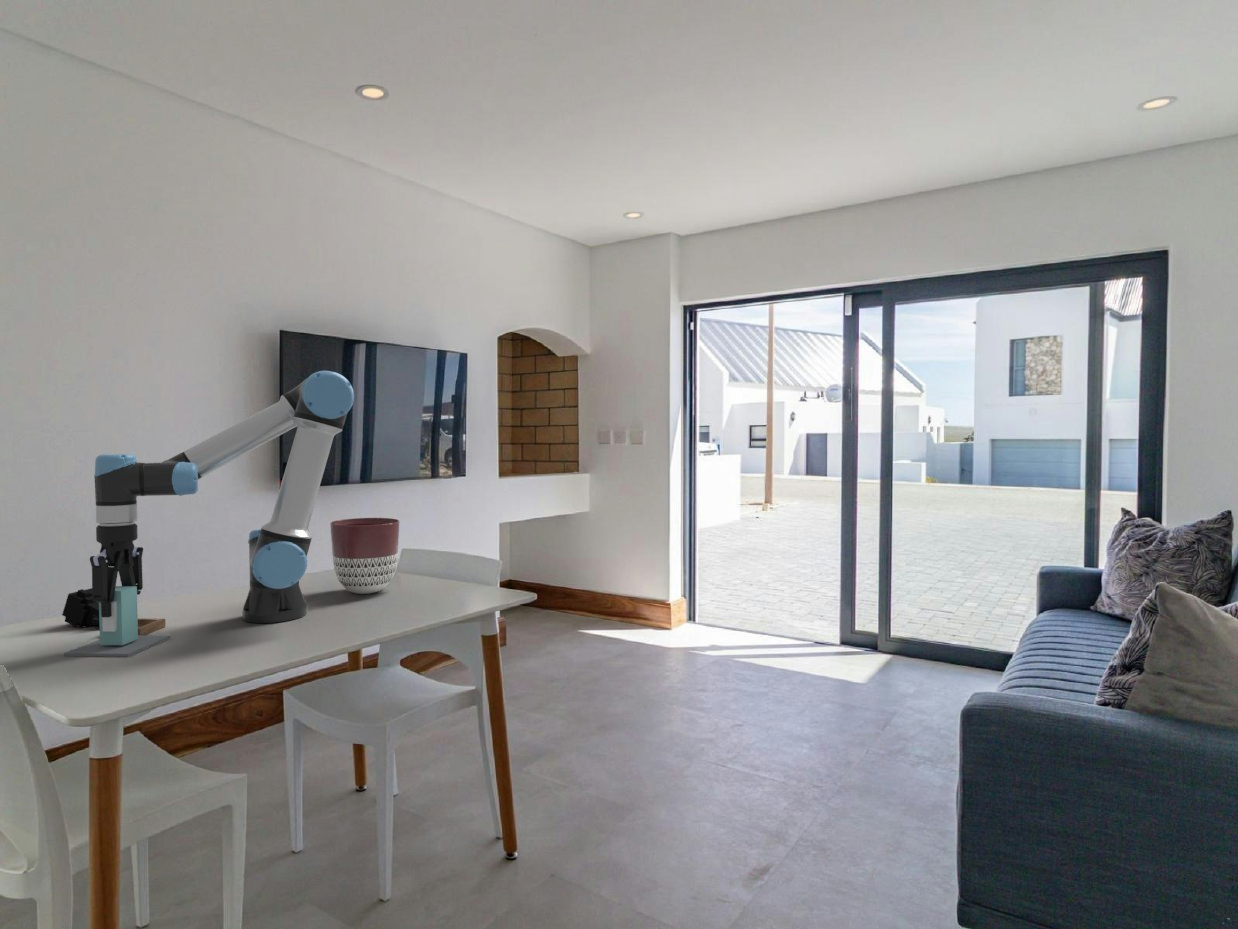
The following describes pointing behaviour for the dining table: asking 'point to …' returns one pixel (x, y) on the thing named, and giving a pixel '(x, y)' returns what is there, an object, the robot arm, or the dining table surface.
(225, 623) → the dining table surface
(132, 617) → the block
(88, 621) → the toy
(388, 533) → the planter
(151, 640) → the pad
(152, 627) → the wooden square frame
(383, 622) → the dining table surface
